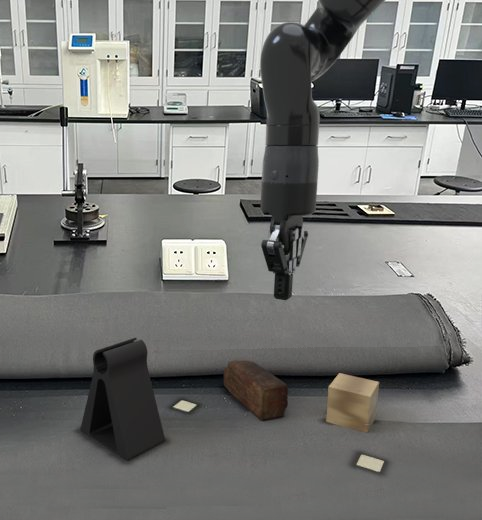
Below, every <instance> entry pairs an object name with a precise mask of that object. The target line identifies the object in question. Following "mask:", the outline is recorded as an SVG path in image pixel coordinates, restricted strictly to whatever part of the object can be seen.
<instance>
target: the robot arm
mask: <svg viewBox="0 0 482 520" xmlns="http://www.w3.org/2000/svg"><path fill="white" fill-rule="evenodd" d="M317 2H318V5H317V7H316V8H315V10H314V11H313V13H312V14H311V16H310V17H309V18H308V20H307V21H306V22H305V23H304V24H302V23H299V22H296V21H295V22H294V21H287V22H283V23H281V24H278V25H277V26H275V27H274V28H273V29H272V30H270V32H269V33H268V34H267V36H266V38H265V40H264V42H263V45H262V48H261V53H260V62H259V64H260V65H259V66H260V70H259V71H260V79H261V86H262V93H263V100H264V105H265V110H266V124H265V126H266V127H265V143H264V153H263V157H262V158H263V159H262V166H261V167H262V169H261V190H260V191H261V192H260V211H261V212H262V213H263V214H264V213H265V214H267V215H270V216H271V219H270V224H269V227H268V235H267V237H268V239H262V241H261V245H260V247H261V249H262V253H263V257H264V260H265V264H266V267H267V270H268V272H271V273H273V274H274V280H273V281H274V282H273V298H274V299H276V300H281V301H288V300H289V299H290V298H292V297H293V282H294V274H295V273H296V271H297V268H299V267H300V265H301V261H302V258H303V254H304V251H305V247H306V243H307V240H308V237H309V231H308V230H305V226H304V219H303V218H304V217H303V216H309V215H312V214H315V212H316V209H317V196H318V181H319V180H318V179H319V166H320V165H319V162H320V160H319V146H318V145H319V137H320V136H319V135H320V122H321V121H320V120H321V116H320V114H321V113H320V109H319V106H318V105H317V103H316V102H315V100H314V98H313V92H312V91H313V89H312V88H313V87H312V82H314V81H316V80H318V79H319V78H320V77H321V76H323V75H324V74H325V73H327V71H329V69H330V68H331V67H332V66H333V65H334V64H335V63H336V61H337V60H338V59H339V57H340V56H341V55H342V54H343V52H344V51H345V49H346V47H348V45H349V44H350V42H351V41H352V39H353V38H354V37H355V34H356V33H357V32H358V30H359V29H360V27H361V26H362V24H364V22H366V21H367V20H368V19H369V18H370V17H371V16H372V15H373V13H375V12H376V11H377V10H378V9H379V8H380V7H381V6H382V4H383V3H385V2H386V0H317Z"/></svg>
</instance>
